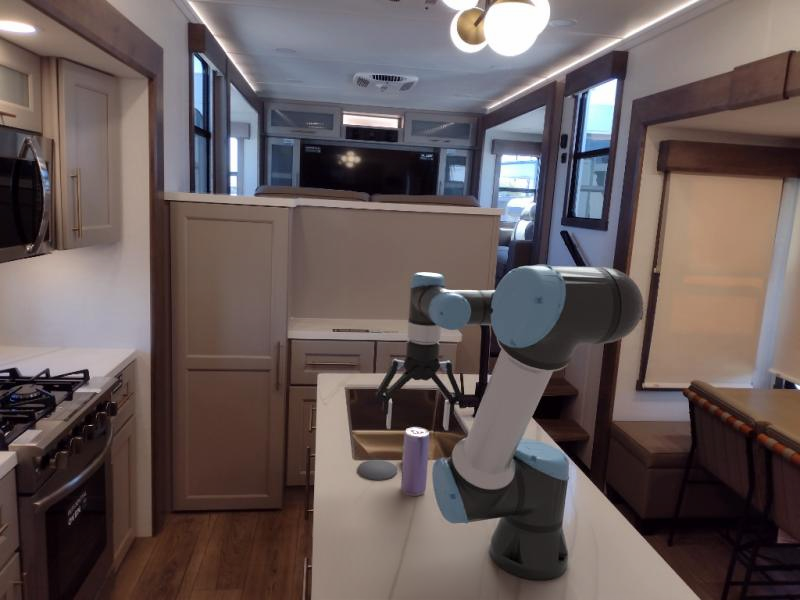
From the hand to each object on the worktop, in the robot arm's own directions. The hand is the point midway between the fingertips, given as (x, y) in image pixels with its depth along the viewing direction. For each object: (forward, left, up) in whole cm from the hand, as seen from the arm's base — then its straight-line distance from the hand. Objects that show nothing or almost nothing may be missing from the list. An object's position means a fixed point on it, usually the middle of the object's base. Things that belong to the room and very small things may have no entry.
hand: (417, 427), depth 137 cm
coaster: (+10, +8, -16) cm, 20 cm away
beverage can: (0, 0, -16) cm, 16 cm away
